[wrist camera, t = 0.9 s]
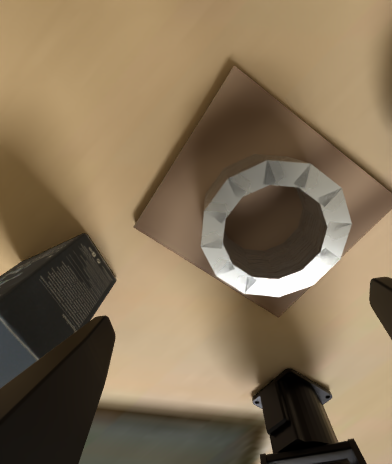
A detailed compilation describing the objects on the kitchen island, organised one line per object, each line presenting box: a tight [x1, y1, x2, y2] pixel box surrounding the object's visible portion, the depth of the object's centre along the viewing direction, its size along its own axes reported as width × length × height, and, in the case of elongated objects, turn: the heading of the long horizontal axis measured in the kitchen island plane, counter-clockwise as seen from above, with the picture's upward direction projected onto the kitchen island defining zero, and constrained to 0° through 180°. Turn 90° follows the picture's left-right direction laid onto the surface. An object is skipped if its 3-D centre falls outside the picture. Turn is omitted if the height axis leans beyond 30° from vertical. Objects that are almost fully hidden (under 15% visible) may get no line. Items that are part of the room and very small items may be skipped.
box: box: [0, 233, 116, 388], centre depth 19 cm, size 8×6×11 cm
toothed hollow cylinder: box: [201, 154, 352, 297], centre depth 18 cm, size 9×9×4 cm
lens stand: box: [134, 65, 392, 317], centre depth 21 cm, size 16×14×1 cm
